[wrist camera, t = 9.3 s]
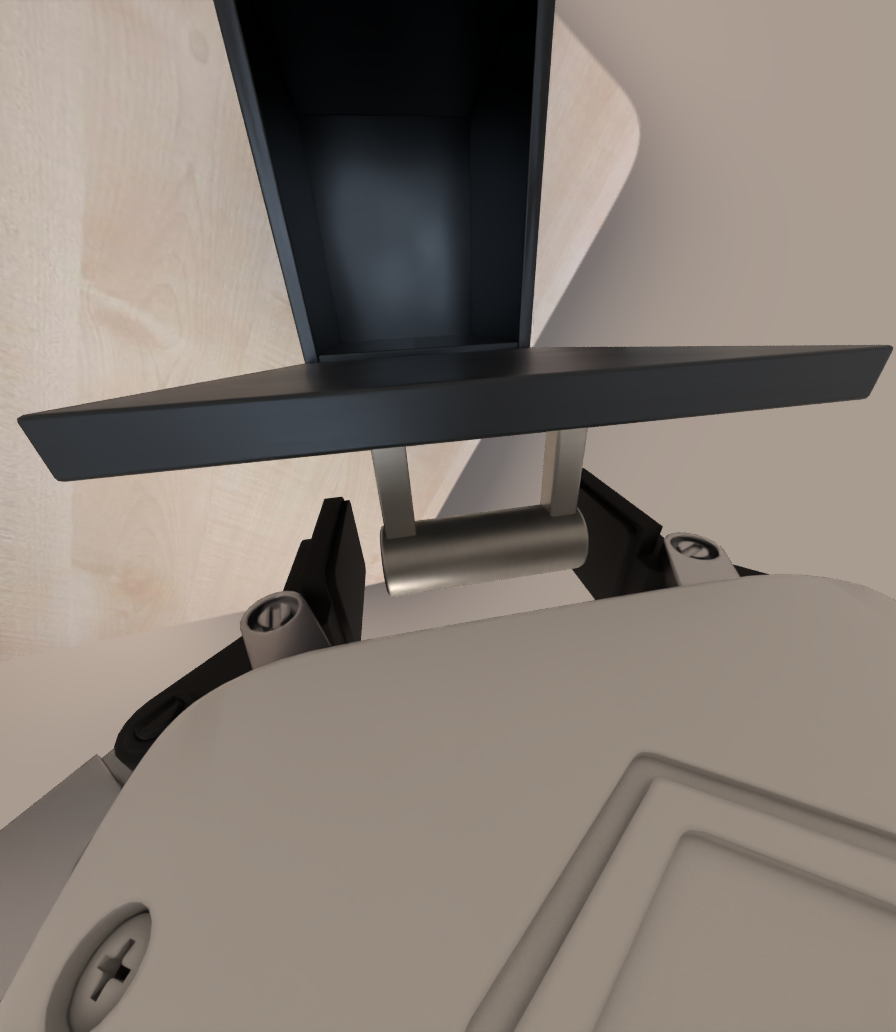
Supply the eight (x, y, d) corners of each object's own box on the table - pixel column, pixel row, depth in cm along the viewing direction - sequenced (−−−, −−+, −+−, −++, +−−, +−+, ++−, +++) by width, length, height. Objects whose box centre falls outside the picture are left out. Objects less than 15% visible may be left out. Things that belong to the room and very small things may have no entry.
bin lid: (8, 416, 4) (202, 705, 6) (898, 344, 5) (764, 602, 7) (303, 363, 16) (327, 464, 18) (533, 347, 17) (527, 443, 20)
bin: (284, 102, 19) (181, -121, 10) (477, 106, 21) (562, -85, 11) (335, 352, 26) (306, 371, 17) (477, 342, 28) (529, 354, 18)
